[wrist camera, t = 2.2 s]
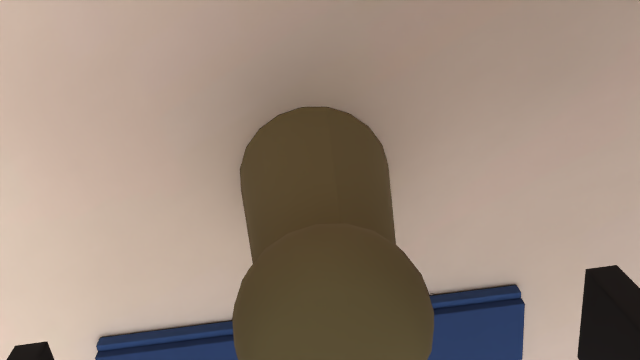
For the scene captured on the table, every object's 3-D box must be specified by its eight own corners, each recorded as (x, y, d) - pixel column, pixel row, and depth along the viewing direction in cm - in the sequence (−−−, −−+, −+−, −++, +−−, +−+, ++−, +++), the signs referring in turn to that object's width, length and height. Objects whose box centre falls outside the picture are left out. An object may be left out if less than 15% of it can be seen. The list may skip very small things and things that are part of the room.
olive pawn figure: (345, 262, 25) (386, 487, 15) (215, 209, 24) (168, 419, 14) (415, 145, 23) (517, 317, 13) (279, 80, 22) (277, 217, 12)
